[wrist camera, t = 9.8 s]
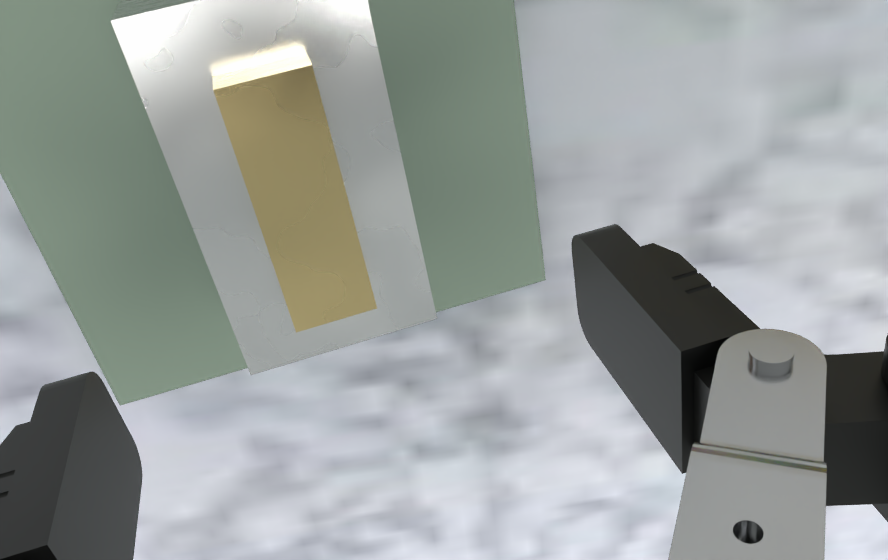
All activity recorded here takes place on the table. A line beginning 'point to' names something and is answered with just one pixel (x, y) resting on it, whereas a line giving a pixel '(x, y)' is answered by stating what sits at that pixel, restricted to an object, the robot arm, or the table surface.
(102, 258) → the rubber mat
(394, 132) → the butter dish
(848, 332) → the table surface
